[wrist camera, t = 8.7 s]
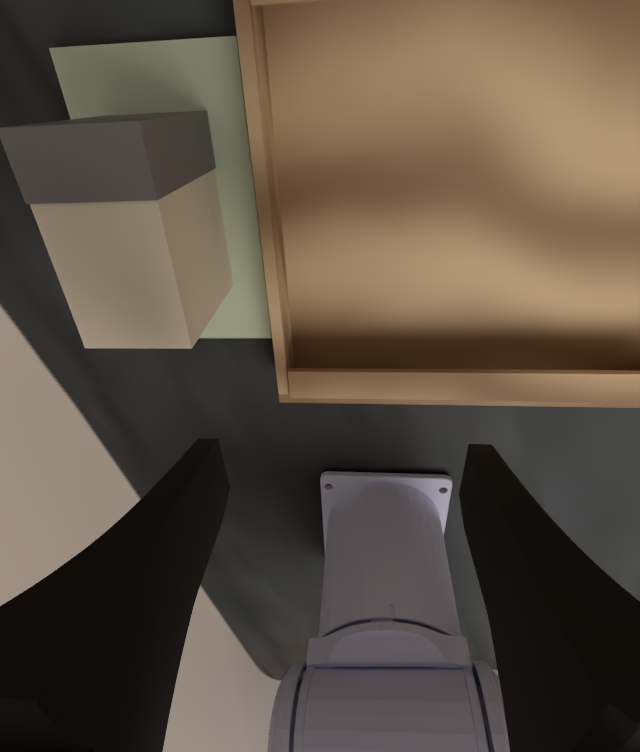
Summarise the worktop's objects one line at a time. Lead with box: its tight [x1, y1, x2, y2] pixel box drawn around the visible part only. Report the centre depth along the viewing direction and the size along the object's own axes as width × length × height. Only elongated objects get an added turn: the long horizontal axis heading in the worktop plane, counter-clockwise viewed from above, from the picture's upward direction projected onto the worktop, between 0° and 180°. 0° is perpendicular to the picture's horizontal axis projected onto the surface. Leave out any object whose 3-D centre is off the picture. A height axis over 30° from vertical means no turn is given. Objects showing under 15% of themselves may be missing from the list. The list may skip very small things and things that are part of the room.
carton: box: [233, 0, 640, 408], centre depth 17 cm, size 17×18×3 cm
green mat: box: [49, 36, 272, 338], centre depth 19 cm, size 12×7×1 cm, turn 3°
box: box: [0, 111, 234, 349], centre depth 16 cm, size 7×4×6 cm, turn 3°
